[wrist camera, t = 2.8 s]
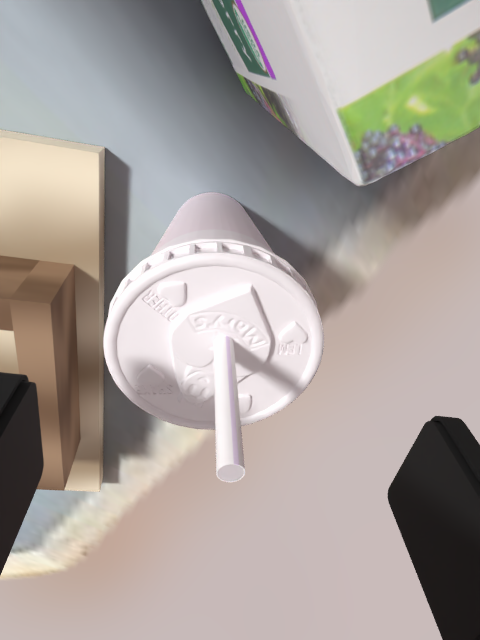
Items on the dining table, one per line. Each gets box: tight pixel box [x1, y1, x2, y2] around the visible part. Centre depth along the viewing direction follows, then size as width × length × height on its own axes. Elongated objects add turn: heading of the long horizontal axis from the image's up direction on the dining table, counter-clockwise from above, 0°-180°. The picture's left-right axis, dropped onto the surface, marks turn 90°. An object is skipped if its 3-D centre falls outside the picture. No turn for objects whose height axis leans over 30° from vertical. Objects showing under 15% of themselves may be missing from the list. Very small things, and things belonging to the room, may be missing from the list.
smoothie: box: [103, 192, 324, 482], centre depth 14 cm, size 6×6×14 cm
